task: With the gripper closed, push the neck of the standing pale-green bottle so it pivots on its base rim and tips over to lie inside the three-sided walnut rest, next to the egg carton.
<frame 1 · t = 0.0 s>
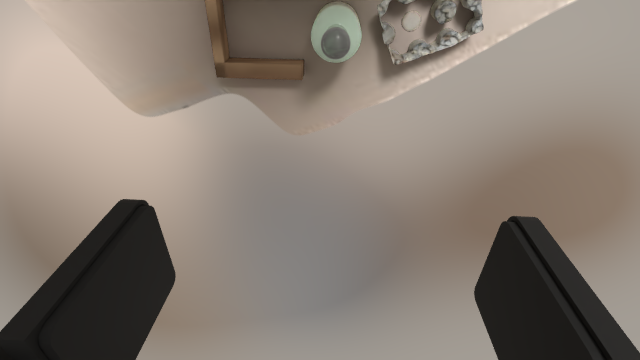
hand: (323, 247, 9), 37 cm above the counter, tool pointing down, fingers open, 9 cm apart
bottle: (336, 25, 40), on the counter
rest: (261, 24, 40), on the counter
egg carton: (424, 13, 39), on the counter
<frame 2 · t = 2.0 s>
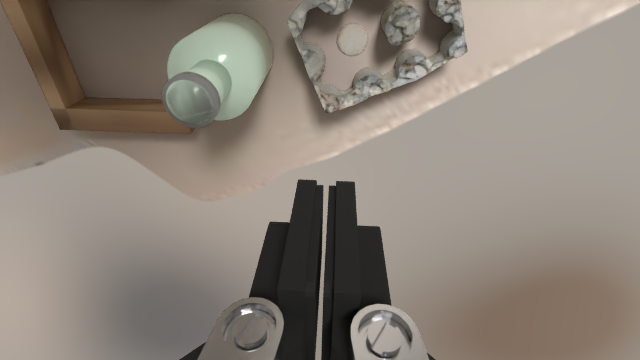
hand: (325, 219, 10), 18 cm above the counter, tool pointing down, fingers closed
bottle: (238, 51, 25), on the counter
rest: (121, 48, 26), on the counter
egg carton: (373, 26, 24), on the counter
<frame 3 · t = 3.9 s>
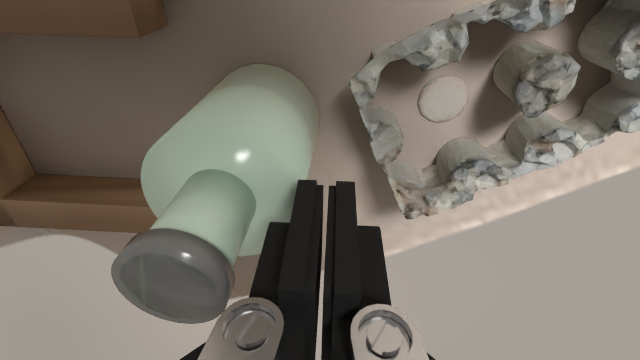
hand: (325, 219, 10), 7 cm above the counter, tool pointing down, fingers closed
bottle: (266, 118, 16), on the counter, touching gripper
rest: (86, 110, 17), on the counter
egg carton: (476, 77, 15), on the counter
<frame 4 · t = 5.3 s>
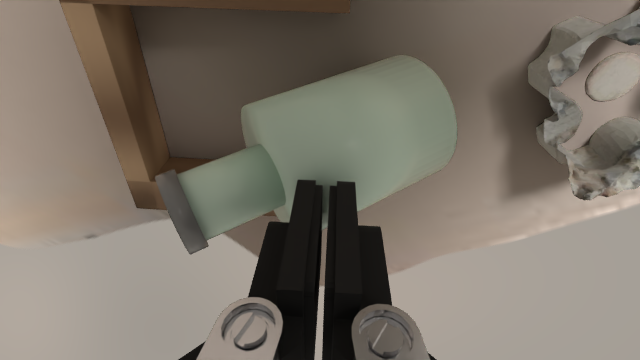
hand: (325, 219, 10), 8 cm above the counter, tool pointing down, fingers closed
bottle: (408, 117, 14), point 2 cm above the counter, tilted 57°, touching gripper
rest: (239, 91, 16), on the counter
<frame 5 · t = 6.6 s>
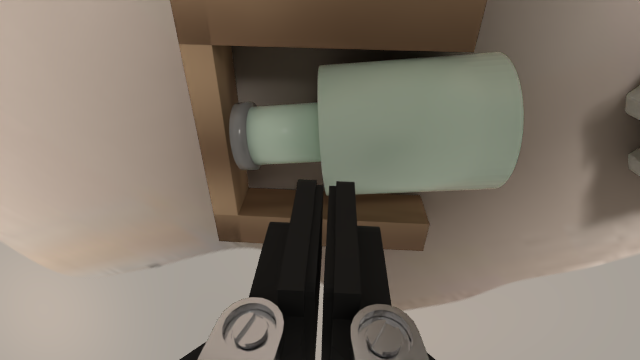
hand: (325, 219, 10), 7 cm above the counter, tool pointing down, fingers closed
bottle: (489, 122, 13), point 3 cm above the counter, tilted 90°
rest: (330, 123, 16), on the counter
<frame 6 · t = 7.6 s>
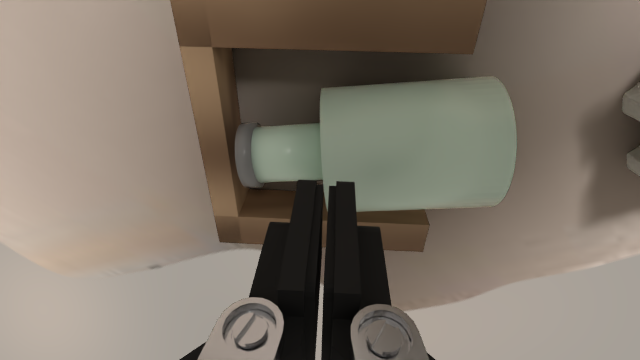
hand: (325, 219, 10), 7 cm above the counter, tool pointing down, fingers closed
bottle: (485, 142, 14), point 3 cm above the counter, tilted 90°
rest: (330, 125, 16), on the counter
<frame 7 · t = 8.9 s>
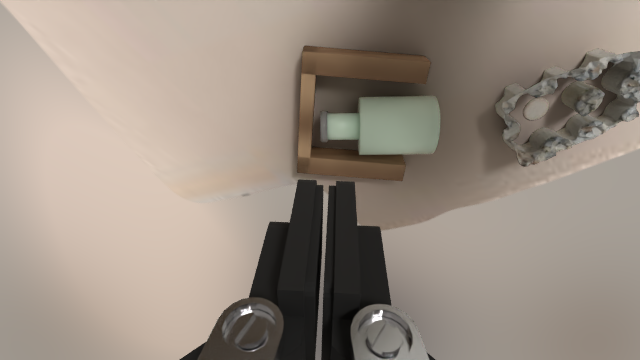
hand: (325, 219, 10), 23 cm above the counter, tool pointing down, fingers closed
bottle: (431, 125, 31), point 3 cm above the counter, tilted 90°
rest: (359, 113, 33), on the counter
egg carton: (552, 98, 32), on the counter
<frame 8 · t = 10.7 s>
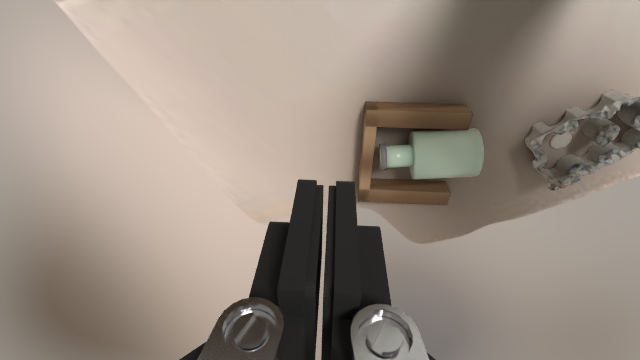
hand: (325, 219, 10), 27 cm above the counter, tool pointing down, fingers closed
bottle: (474, 152, 36), point 3 cm above the counter, tilted 90°
rest: (409, 151, 39), on the counter
egg carton: (574, 130, 37), on the counter
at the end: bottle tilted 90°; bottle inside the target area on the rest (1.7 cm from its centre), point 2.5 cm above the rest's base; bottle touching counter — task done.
